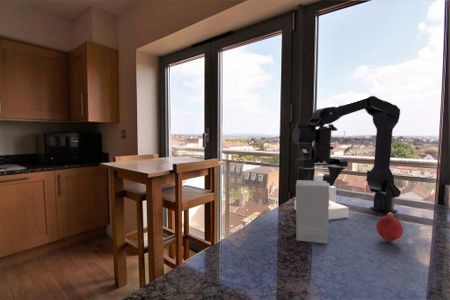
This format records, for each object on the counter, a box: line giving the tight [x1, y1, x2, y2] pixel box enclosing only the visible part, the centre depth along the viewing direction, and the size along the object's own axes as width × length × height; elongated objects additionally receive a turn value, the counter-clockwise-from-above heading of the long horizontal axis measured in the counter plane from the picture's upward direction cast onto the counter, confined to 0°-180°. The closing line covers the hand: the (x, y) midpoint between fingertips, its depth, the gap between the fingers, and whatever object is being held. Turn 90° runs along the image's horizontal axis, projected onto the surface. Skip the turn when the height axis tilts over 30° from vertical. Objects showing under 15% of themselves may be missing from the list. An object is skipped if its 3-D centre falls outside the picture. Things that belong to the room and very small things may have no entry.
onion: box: [375, 212, 404, 243], centre depth 63 cm, size 6×6×8 cm
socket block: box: [293, 199, 350, 221], centre depth 86 cm, size 13×13×4 cm
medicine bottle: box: [316, 173, 337, 203], centre depth 101 cm, size 7×7×12 cm
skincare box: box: [295, 179, 329, 245], centre depth 65 cm, size 8×7×16 cm
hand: (320, 186), depth 86 cm, fingers open, 9 cm apart
